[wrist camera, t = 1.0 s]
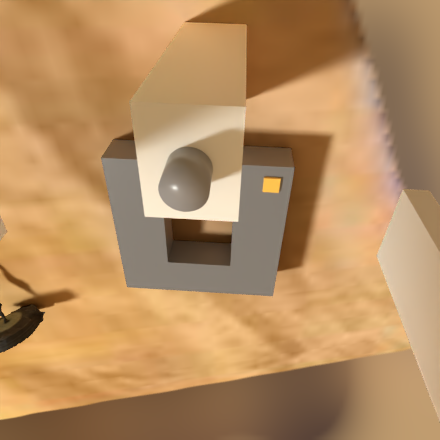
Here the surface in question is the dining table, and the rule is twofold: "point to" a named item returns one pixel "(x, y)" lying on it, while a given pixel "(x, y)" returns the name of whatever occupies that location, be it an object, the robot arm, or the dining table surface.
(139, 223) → the socket
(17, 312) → the artificial flower
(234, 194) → the cream long rectangular block
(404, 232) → the robot arm
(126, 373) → the dining table surface
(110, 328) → the dining table surface
